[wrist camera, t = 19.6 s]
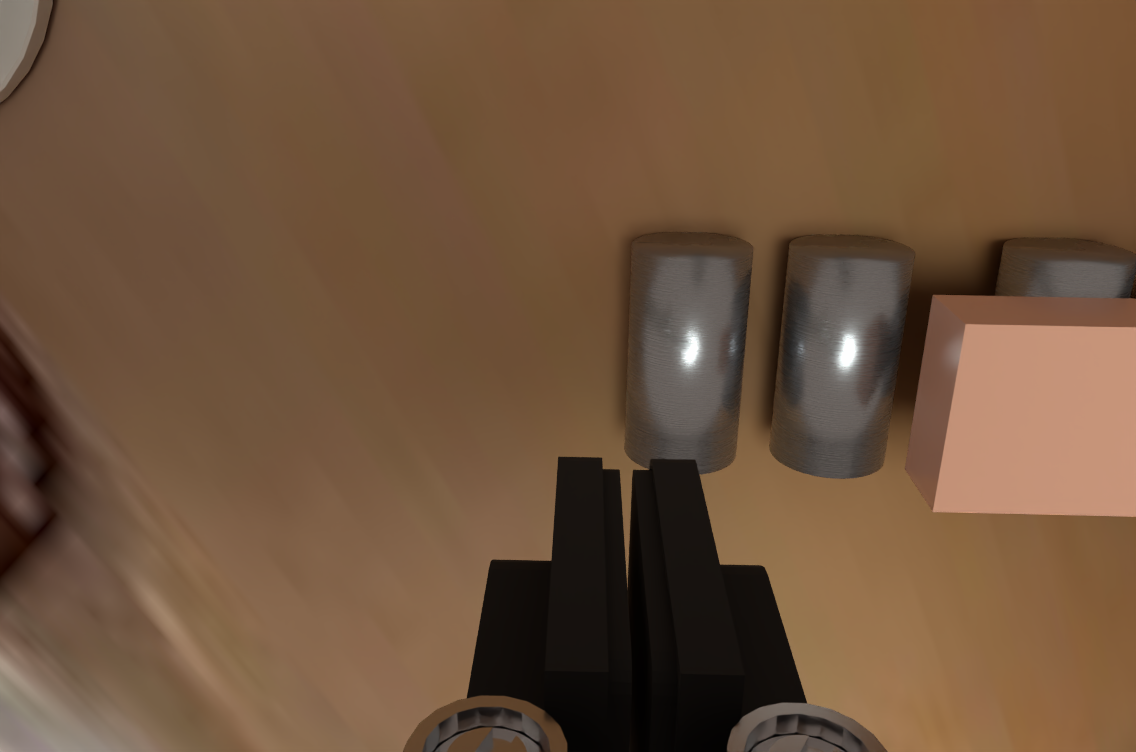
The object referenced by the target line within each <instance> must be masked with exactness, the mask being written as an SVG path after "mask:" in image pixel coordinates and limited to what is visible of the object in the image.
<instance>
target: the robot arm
mask: <svg viewBox="0 0 1136 752" xmlns="http://www.w3.org/2000/svg"><path fill="white" fill-rule="evenodd" d="M52 5H53V0H0V103H1V102H2V101H3V100H5V99H6V98H7V97H8V96H9V95H10V94H11V93H12V92H13V90H14V89H15V88H16V87H17V85H18V84H19V83H20V82H21V80H22V79H23V78H24V77H25V75H26V74H27V73H28V72H29V70H30V68H31V66H32V64H33V62H34V60H35V58H36V56H37V54H38V51H39V49H40V47H41V45H42V43H43V41H44V38H45V34H46V30H47V26H48V21H49V17H50V13H51V9H52ZM403 752H887V750H886V749H885V748H884V747H883V745H882V744H881V743H880V742H879V741H878V739H877V738H876V737H875V736H874V734H872V733H871V732H870V731H868V730H867V729H866V728H864V727H863V726H862V725H860V724H859V723H858V722H856V721H855V720H853V719H851V718H849V717H847V716H845V715H842V714H840V713H838V712H836V711H834V710H832V709H828V708H824V707H820V706H816V705H811V704H807V701H806V698H805V695H804V692H803V688H802V685H801V682H800V678H799V675H798V672H797V669H796V665H795V662H794V659H793V656H792V652H791V649H790V646H789V643H788V639H787V636H786V633H785V630H784V626H783V623H782V620H781V616H780V613H779V610H778V607H777V603H776V600H775V597H774V594H773V590H772V587H771V584H770V581H769V577H768V574H767V572H766V570H765V567H763V566H759V565H720V563H719V559H718V554H717V550H716V546H715V541H714V537H713V533H712V528H711V524H710V519H709V515H708V511H707V506H706V502H705V498H704V493H703V489H702V484H701V480H700V476H699V471H698V467H697V463H696V460H689V459H651V460H650V466H649V470H633V477H632V498H631V521H630V544H629V568H628V591H627V577H626V561H625V546H624V530H623V515H622V500H621V484H620V470H612V469H603V467H602V458H591V457H558V470H557V485H556V501H555V516H554V532H553V547H552V561H530V560H492V561H491V563H490V567H489V572H488V578H487V584H486V590H485V595H484V601H483V607H482V613H481V619H480V625H479V630H478V636H477V642H476V648H475V654H474V659H473V665H472V671H471V677H470V683H469V689H468V694H467V698H466V699H461V700H457V701H455V702H453V703H450V704H448V705H446V706H444V707H441V708H439V709H437V710H436V711H434V712H433V713H432V714H430V715H429V716H428V717H427V718H425V719H424V720H423V721H422V722H420V723H419V725H418V726H417V727H416V729H415V730H414V732H413V733H412V735H411V736H410V738H409V739H408V741H407V743H406V745H405V748H404V750H403Z"/></svg>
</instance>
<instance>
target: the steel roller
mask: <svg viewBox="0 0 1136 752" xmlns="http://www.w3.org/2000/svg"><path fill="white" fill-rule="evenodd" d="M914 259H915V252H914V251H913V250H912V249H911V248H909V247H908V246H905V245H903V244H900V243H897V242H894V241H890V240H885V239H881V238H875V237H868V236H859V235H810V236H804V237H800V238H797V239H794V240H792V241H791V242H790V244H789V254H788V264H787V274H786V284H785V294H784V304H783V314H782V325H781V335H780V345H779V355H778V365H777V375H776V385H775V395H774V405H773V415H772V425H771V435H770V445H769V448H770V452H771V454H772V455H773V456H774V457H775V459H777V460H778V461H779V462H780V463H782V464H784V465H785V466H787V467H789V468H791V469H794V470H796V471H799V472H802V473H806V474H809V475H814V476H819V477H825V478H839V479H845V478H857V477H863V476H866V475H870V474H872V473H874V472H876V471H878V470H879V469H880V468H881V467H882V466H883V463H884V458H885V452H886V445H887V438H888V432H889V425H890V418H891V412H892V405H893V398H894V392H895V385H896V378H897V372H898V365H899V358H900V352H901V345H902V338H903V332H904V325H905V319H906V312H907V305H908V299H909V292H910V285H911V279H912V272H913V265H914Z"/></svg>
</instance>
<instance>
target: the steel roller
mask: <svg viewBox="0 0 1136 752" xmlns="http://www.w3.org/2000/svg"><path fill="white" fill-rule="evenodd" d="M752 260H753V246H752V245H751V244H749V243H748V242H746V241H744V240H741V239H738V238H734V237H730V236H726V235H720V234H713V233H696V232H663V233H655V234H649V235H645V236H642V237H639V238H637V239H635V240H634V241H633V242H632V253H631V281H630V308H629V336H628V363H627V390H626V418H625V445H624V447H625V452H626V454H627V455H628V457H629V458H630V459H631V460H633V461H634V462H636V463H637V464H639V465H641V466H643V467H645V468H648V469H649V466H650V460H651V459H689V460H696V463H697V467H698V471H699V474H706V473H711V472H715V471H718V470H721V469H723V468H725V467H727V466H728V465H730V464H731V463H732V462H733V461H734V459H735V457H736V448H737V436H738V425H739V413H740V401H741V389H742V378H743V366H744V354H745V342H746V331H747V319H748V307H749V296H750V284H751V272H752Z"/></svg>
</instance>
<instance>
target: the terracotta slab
mask: <svg viewBox="0 0 1136 752" xmlns="http://www.w3.org/2000/svg"><path fill="white" fill-rule="evenodd" d="M905 470H906V472H907V473H908V475H909V476H910V478H911V479H912V481H913V482H914V484H915V485H916V487H917V488H918V490H919V492H920V493H921V495H922V496H923V498H924V499H925V501H926V502H927V504H928V505H929V507H930V508H931V510H932V512H959V513H1003V514H1046V515H1090V516H1133V517H1136V299H1132V298H1077V297H1023V296H968V295H933V297H932V303H931V309H930V316H929V322H928V328H927V334H926V341H925V347H924V353H923V359H922V366H921V372H920V378H919V384H918V391H917V397H916V403H915V409H914V416H913V422H912V428H911V434H910V441H909V447H908V453H907V459H906V466H905Z"/></svg>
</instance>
